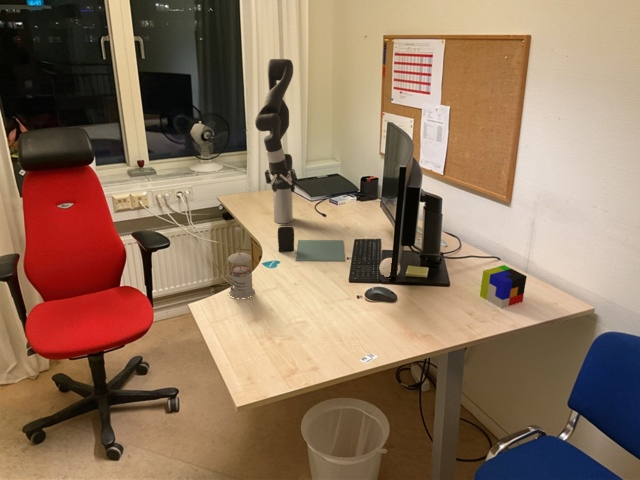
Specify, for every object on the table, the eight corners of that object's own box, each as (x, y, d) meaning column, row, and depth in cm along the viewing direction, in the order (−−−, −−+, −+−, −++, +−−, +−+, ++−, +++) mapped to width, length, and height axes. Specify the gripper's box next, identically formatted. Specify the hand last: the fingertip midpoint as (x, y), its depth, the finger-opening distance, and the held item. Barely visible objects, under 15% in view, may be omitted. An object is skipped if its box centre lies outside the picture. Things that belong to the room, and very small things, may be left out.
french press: (243, 302, 176) (239, 235, 167) (218, 293, 182) (212, 228, 172) (261, 290, 184) (258, 226, 174) (236, 283, 190) (232, 219, 180)
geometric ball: (394, 283, 195) (407, 271, 191) (379, 281, 191) (392, 268, 186) (387, 267, 200) (400, 255, 195) (372, 264, 195) (385, 252, 191)
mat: (298, 240, 228) (298, 239, 228) (342, 240, 228) (342, 240, 228) (295, 261, 208) (295, 260, 208) (344, 261, 208) (344, 260, 207)
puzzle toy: (501, 308, 172) (505, 282, 168) (479, 296, 180) (483, 270, 177) (522, 302, 177) (526, 276, 173) (500, 290, 185) (504, 265, 181)
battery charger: (294, 248, 220) (293, 223, 216) (294, 251, 216) (294, 226, 212) (278, 248, 219) (277, 223, 215) (278, 252, 216) (277, 227, 212)
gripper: (294, 154, 223) (301, 187, 232) (265, 155, 228) (273, 187, 237) (288, 161, 217) (295, 195, 226) (258, 162, 222) (266, 195, 231)
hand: (284, 191), depth 231 cm, fingers open, 8 cm apart
